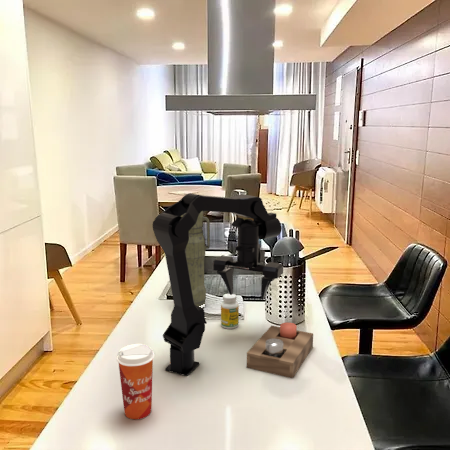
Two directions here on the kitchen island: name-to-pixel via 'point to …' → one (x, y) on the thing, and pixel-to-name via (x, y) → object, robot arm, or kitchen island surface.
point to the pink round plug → (288, 330)
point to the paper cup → (136, 379)
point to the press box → (289, 360)
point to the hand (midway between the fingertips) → (246, 296)
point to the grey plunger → (274, 348)
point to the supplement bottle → (229, 312)
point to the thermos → (197, 258)
